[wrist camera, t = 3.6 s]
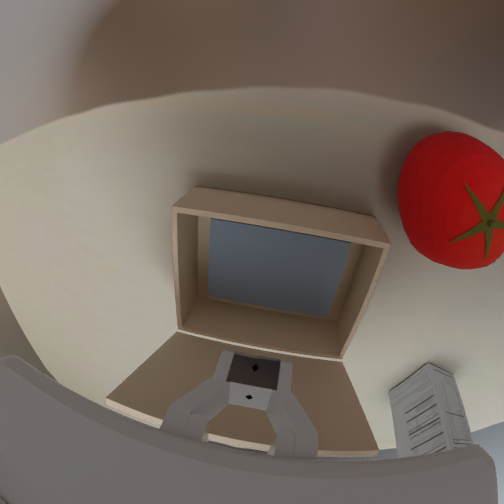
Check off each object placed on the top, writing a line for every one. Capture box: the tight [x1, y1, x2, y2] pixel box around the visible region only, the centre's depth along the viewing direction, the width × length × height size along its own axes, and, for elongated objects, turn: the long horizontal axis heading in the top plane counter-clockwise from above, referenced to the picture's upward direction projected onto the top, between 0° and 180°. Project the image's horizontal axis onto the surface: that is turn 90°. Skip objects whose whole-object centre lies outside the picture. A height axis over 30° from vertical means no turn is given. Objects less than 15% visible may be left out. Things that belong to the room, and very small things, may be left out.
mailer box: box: [172, 186, 391, 359], centre depth 27 cm, size 18×14×6 cm
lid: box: [106, 332, 379, 457], centre depth 21 cm, size 18×14×1 cm
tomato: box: [398, 131, 504, 269], centre depth 18 cm, size 11×12×10 cm
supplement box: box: [389, 363, 473, 458], centre depth 29 cm, size 10×9×17 cm
